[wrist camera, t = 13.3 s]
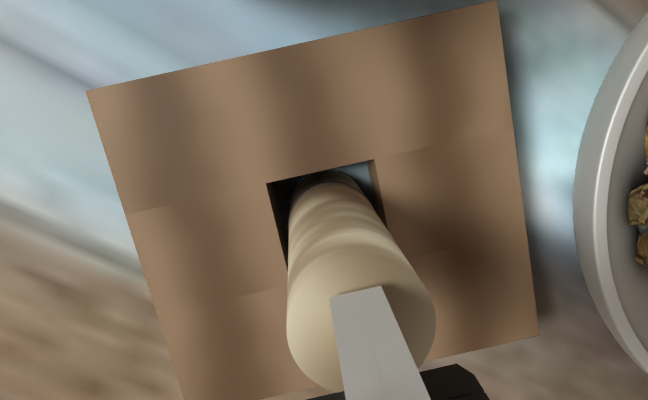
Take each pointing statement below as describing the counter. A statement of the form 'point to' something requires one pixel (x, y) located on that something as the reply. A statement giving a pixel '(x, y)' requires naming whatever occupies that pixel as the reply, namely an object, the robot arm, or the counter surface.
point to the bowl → (617, 198)
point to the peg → (345, 273)
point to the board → (313, 156)
